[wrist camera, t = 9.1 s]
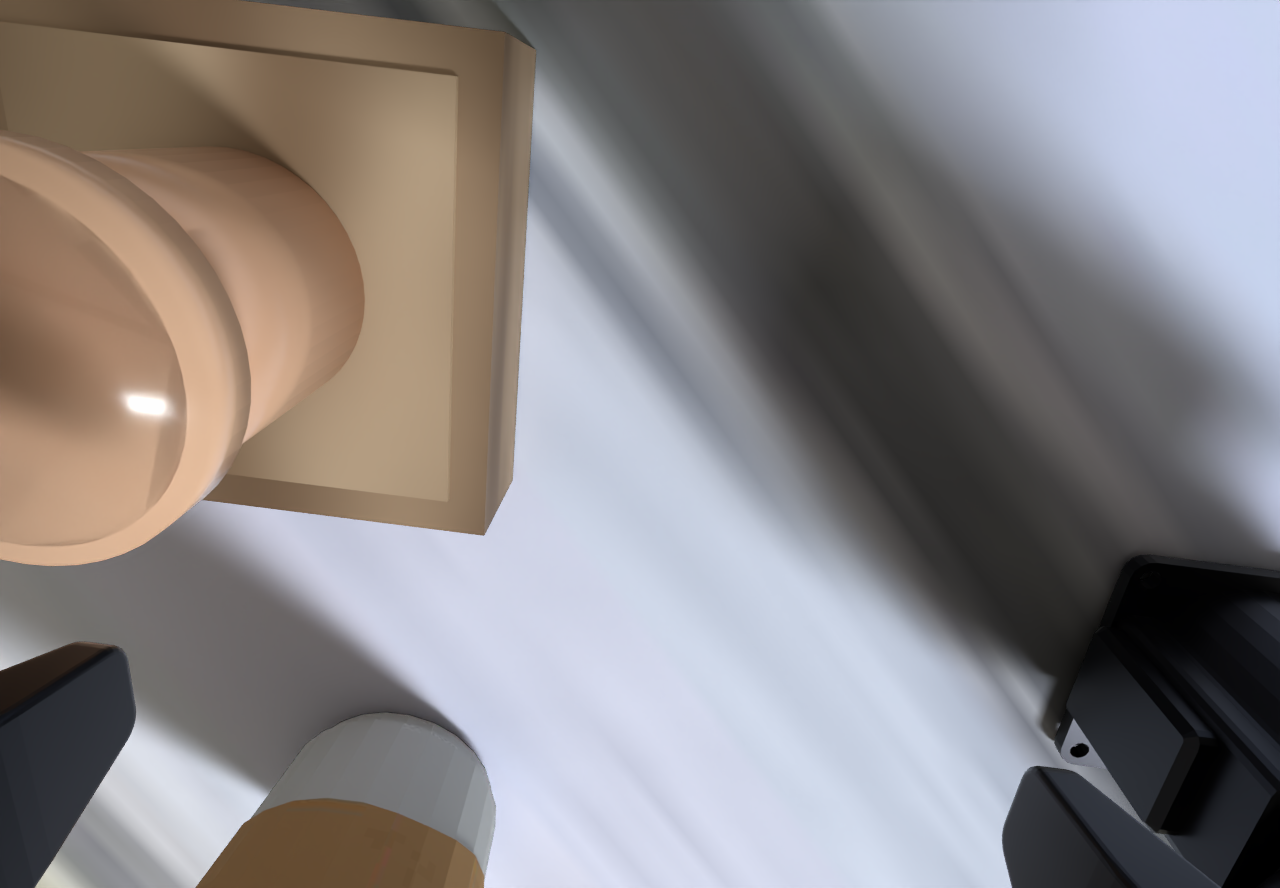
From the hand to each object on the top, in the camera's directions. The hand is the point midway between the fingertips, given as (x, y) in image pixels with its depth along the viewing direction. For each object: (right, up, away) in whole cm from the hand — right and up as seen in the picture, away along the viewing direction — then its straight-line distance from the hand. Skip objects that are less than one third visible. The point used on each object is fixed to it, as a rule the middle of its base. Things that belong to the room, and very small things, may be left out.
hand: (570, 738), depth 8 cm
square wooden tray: (-7, +7, +10) cm, 15 cm away
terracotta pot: (-7, +6, +7) cm, 12 cm away
